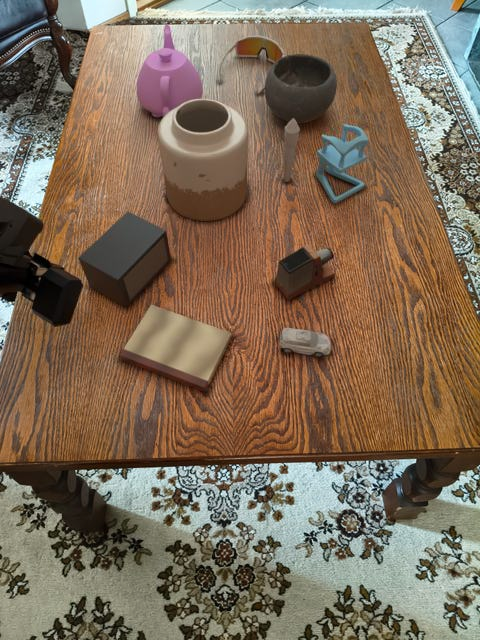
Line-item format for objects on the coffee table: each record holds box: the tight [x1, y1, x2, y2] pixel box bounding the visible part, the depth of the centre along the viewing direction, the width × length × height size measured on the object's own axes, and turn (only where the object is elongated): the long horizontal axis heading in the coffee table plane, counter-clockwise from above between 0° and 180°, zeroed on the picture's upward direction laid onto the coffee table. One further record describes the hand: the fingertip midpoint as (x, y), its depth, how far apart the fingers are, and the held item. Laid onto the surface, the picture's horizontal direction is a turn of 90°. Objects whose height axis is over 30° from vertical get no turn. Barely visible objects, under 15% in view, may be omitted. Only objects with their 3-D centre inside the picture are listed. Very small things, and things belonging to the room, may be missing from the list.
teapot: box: [136, 24, 204, 118], centre depth 107 cm, size 20×14×12 cm
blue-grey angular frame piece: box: [315, 123, 370, 204], centre depth 93 cm, size 8×8×12 cm
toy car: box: [279, 327, 332, 358], centre depth 77 cm, size 4×8×3 cm, turn 82°
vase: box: [157, 98, 249, 222], centre depth 90 cm, size 15×15×17 cm
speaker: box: [77, 211, 172, 309], centre depth 83 cm, size 12×8×8 cm
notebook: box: [118, 304, 233, 393], centre depth 77 cm, size 14×10×2 cm
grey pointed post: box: [283, 118, 301, 183], centre depth 93 cm, size 2×3×14 cm
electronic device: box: [274, 243, 336, 301], centre depth 82 cm, size 4×10×8 cm, turn 121°
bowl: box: [264, 53, 338, 124], centre depth 106 cm, size 15×15×10 cm
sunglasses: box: [218, 34, 286, 95], centre depth 118 cm, size 14×15×5 cm
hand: (61, 270), depth 70 cm, fingers closed
